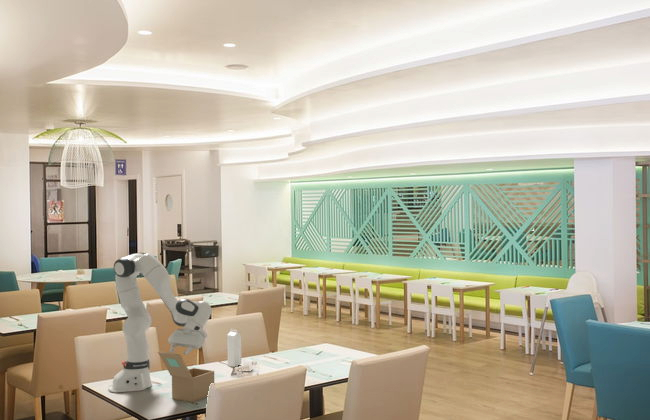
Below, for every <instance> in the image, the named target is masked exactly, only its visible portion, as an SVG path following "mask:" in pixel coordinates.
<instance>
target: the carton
mask: <svg viewBox="0 0 650 420" xmlns="http://www.w3.org/2000/svg"><path fill="white" fill-rule="evenodd" d="M188 370H189V372H190V374H191V376H192V377H193V379H188V378H182V377H176V376H171V399H172V400H177V401H182V402H183V401H184V402H188V403H196V402H198V401H200V400H203V399H205V398H206V399H207V398H208V397H207V395H208V391H209V386H210V384H211V383H214V384H215V370H212V369H211V370H210V369H203V368H197V367H192V368H188Z"/></svg>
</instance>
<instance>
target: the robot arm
mask: <svg viewBox="0 0 650 420" xmlns="http://www.w3.org/2000/svg"><path fill="white" fill-rule="evenodd" d="M113 271H114V274H115V288H116V291H117V295H118V299H119V303H120V306H121V308H122V309H123V311H124V312H125V314H126V316H127V318H126V319H125V321H124V322H123V323H122V327H121V329H122V332H123V333H124V337H125V342H126V352H127V353H126V355H127V356H126V357H127V360H126V361H125V360H122V361H121V364H122V365H123V368H122V369H121V370H120V371H119V372H117V373H116V374H115V375H114V377H113V380H112V384H110V385H109V386H108V388H107V389H108V391H109V392H111V393H126V392H136V391H137V392H140V391H144V390H146V389H147V388H148V389H149V388H151V387H152V386H153V383H152V380H151V375H150V368H151V367H150V366H151V364H150V363H151V362H150V361H151V360H150V359H149V358H150V357H149V355H150V354H149V343H148V341H147V336H146V332H147V331H148V330H149V329H150V328H151V325H152V323H153V322H152V316H151V315H150V314H149V312H148V311H147V308H146V306H145V304H144V302H143V299H142V295H141V291H140V289H139V284H138V281H137V276H139V275H142V276H143V277H144V279H146V281H147V282H148V284H149V285H151V287H152V288H153V290H154V291H155V292H156V294H158V296H159V297H160V298H161V299H160V300H162V302H163V303H164V305H165V306H166V307H167V309H168V310H169V312H170V314H171V317H172V321H173V323H174V324H175V325H177V326H178V327H182V328H178V329H175V330H174V331H173V332H172V334H171V335H170V336H169V337H168V339H167V343H168V344H169V345H170V349H169V353H175V352H176V349H175V348H176V347H181V348H187V349H186V350H184V352H183V354H184V355H185V356H188V355H189V354H190V353H191V352H192V351H193V350H194V349H196V350H199V349H201V348H202V346H203V345H204V343H205V341H206V338H207V337H208V334H207V333H206V331H205V330H204V326H206V324H207V322H208V321H209V319H210V317H211V314H212V307H211V305H210V304H209V303H208V302H206V301H205V300H200V301H194V300H191V299H189V298H181V299H179V300H178V299H177V297H176V296H175V295H174V293H173V291H172V287H171V277H170V274H169V272H168V270H167V269H166V267H165V266H164V265H163V263H162V262H161V261H160V260H159V259H158V258H157V257H155V256H154V255H153V254H151V253H146V252H137V253H131V254H129V255H126V256H123V257H120V258H118V259H117V260H115V261H114V263H113Z"/></svg>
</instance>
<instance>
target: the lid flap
mask: <svg viewBox="0 0 650 420" xmlns="http://www.w3.org/2000/svg"><path fill="white" fill-rule="evenodd" d="M157 353H158V355H159V357H160V359H161V360H162V363H163V364H164V366H165V368H166V370H167V372H168V373H169V375H170V376H171V377H172V376H176V377H182V378H188V379H193V377H192V376H191V374H190V372H189V368H188V367H187V364H186V362H185V361H184V359H183V357H182V355H181V353H175V352H174V353H171V352H167V351H166V352H165V351H159V350H158V351H157Z"/></svg>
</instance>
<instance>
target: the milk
mask: <svg viewBox="0 0 650 420" xmlns="http://www.w3.org/2000/svg"><path fill="white" fill-rule="evenodd" d="M226 337H227V342H226V343H227V347H226V349H227V367H230V368H231V367H232V368H236V367H235V366H237V367H239V366H238V365H240V364H242V334H241V333H240V332H238V329H234V328H230V330H229V332H228V334H226Z"/></svg>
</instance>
